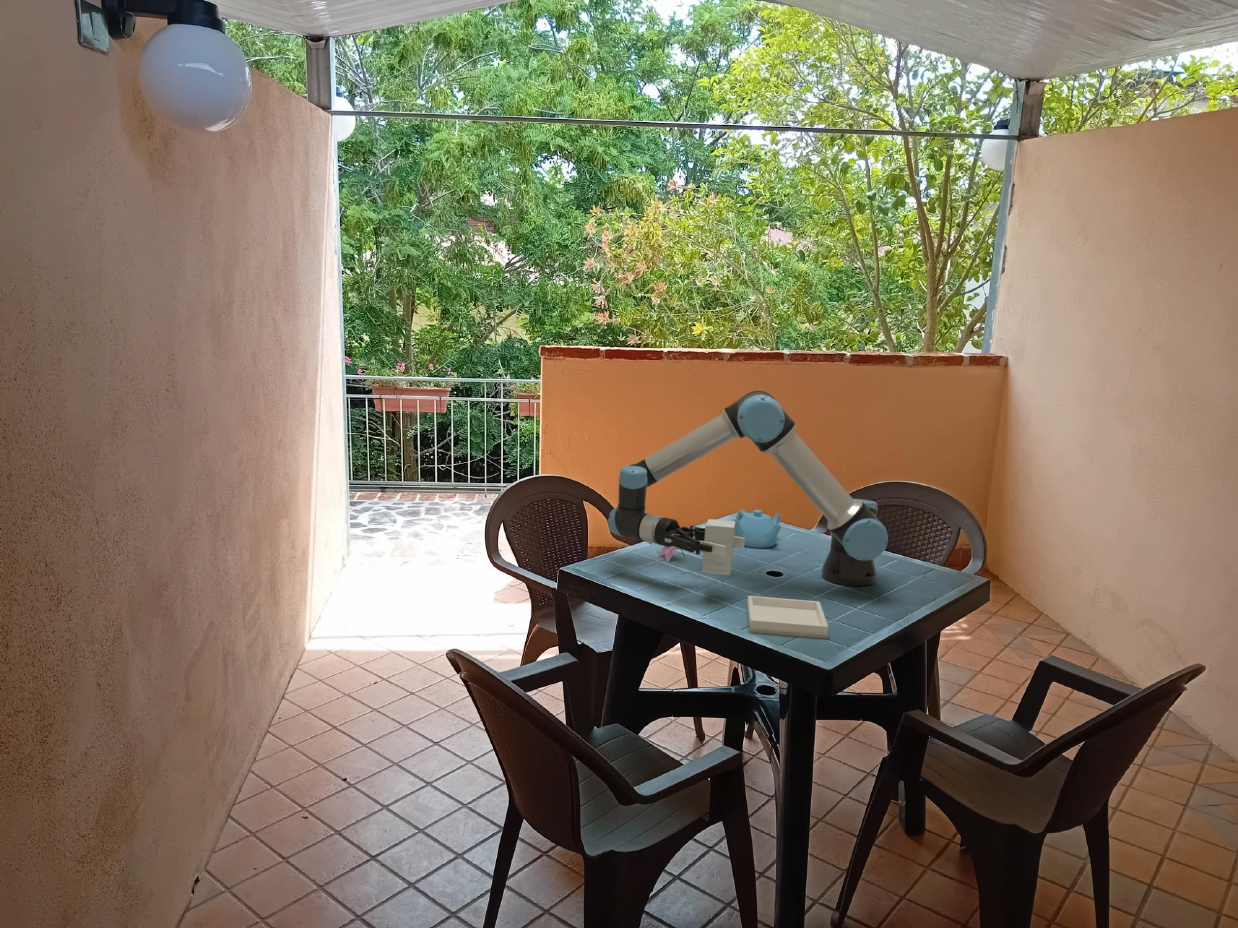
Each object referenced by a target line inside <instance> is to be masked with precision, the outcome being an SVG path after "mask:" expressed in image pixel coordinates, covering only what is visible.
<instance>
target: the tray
mask: <svg viewBox="0 0 1238 928" xmlns="http://www.w3.org/2000/svg"><path fill="white" fill-rule="evenodd" d="M746 603H747V604H746V610H747V611H746V612H747V620H748V629H749V633H753V634H755V633H756V634H763V635H764V634H765V635H777V636H787V637H788V636H789V637H800V638H810V639H811V638H812V639H813V638H814V639H823V640H824V639H825V640H827V639H828V632H829V626H828V622H827V620H826V616H825V614H824V611H823V607H822V605H821V602H820V601H816V600H804V599H792V598H781V597H779V598H778V597H769V596H758V595H757V596H756V595H747V601H746Z"/></svg>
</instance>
